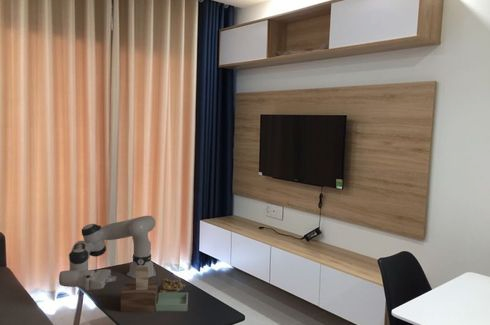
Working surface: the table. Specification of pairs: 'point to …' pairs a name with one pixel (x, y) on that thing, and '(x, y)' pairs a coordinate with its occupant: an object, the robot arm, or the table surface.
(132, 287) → the walnut ledge
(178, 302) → the bin
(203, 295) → the table surface
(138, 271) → the birch block
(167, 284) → the mineral formation
